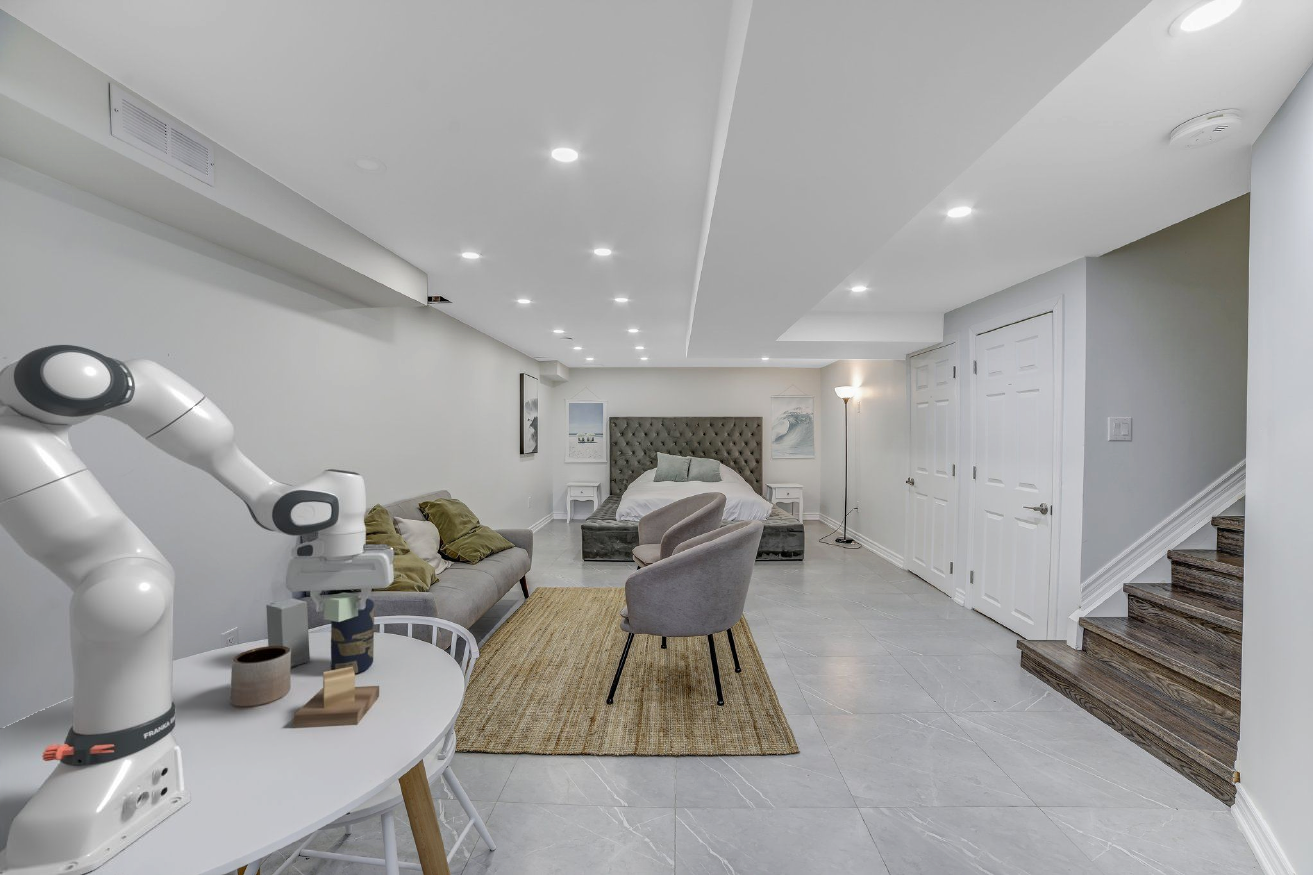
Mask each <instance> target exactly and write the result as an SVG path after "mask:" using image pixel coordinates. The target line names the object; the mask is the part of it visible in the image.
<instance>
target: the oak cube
mask: <svg viewBox="0 0 1313 875" xmlns="http://www.w3.org/2000/svg"><path fill="white" fill-rule="evenodd" d="M322 676H323V678H322V679H323V685H322V687H323V703H324V708H329V707H333V706H338V705H342V704H347V703H351V702H354V701H355V687H356V673H354V669H353V667H348V668H342V669H337V670H332V671H331V670H327V671H323V675H322Z"/></svg>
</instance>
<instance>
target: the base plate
mask: <svg viewBox="0 0 1313 875" xmlns="http://www.w3.org/2000/svg"><path fill="white" fill-rule="evenodd" d="M378 697H380V685H370V686H369V685H367V686H365V685H364V686H355V701H354V702H351V703H347V704H342V705H338V706H333V707H329V708H324V703H323V688H321V689H320V690H319V691H318V692H317V693H316V694H315V695H314V696H312V697H311V698H310V700H308V701H307V702H306V703H305V704H304V705H303V706H302V707H301V708H300V709H299V710H298V711H297V712H296V713H294V715H293V729H299V728H317V727H333V726H334V727H335V726H352V725H354V726H355V725H358V724H359V723H360V722H361V720H362V719H363V718H364V717H365V715H366V714H367V713H368V712H367V711H369V710H371V708H372V707H373V705H374V704H375V702H376V701H377V700H378V699H379V698H378Z"/></svg>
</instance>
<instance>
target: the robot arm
mask: <svg viewBox="0 0 1313 875" xmlns="http://www.w3.org/2000/svg"><path fill="white" fill-rule="evenodd" d="M95 416H101V417H102V416H103V417H107V418H111V419H113V420H116V421H118V422H121V423H122V424H124V425H127V426H128V427H129V428H130V429H132V430H133V431H135V432H136V433H137V434H138V435H139V436H141V437H142V438H144V439H145V440H146V441H147V442H148V443H150V444H152V445H153V446H154V447H156V448H157V449H159V450H161V451H162V452H164V453H166V454H168V455H169V456H171V457H173V458H175V459H177V460H179V461H182V462H183V463H186V464H188V465H190V466H192V467H195V468H196V469H199V470H202V471H204V472H205V473H207V474H209V475H211V476H212V477H213V478H214V479H215V480H217V481H218V482H220V484H222V485H223V486H224V487H225V488H226V489H228V490H230V491H231V492H232V493H233V494H235V496H237V497H239V498H240V499H241V500H242V501H243V503H244V504H245V506H246V507H247V509H248V511H249V514H250V516H251V518H252V519H253V521H254V522H255V523H256V525H258V526H259V527H261V528H262V529H264V530H266V531H271V532H276V533H279V534H283V535H287V536H292V537H295V536H296V537H297V536H299V537H300V536H303V535H307V534H312V533H315V532H317V538H313V539H310V540H308V541H306V542H303V543H300V544H298V545H295V546H293V547H292V549H291V551H290V552H291V556H292V557H293V558H292V559H290V561H289V562H288V565H287V569H286V576H285V587H286V588H287V590H288V591H289V592H310V594H309V595H310V598H311V599H312V601H313V602H314V605H315V611H316V612H324V599H322V596H321V595H320V594H321V593H323V592H322V591H343V590H345V591H346V590H361V591H360V593H361V594H362V597H361V598H362V599H361V600H358V601H356V607H355V609H356V610H363V609H364V608H365V606H366V599H368V598H369V596H370V594H371V593H372V589H387V588H389V587H390V586H391V585H392V584H393V583H394V581H395V575H394V574H395V573H394V564H393V563H394V560H395V550H394V549H393V547H391V546H389V545H388V544H386V543H384V544H383V543H382V544H381V543H380V544H366V542H367V541H366V538H367V537H366V536H367V527H366V524H365V515H366V512H367V494H366V493H367V492H366V490H367V489H366V483H365V480H364V478H363V476H362V475H361V474H359V473H358V472H355V471H350V470H349V471H348V470H343V469H342V470H340V469H333V468H331V469H324V471H323V472H321V473H320V474H319V475H316V476H315V477H313V478H311V479H309V480H306V481H305V482H302V483H300V484H297V485H295V486H294V485H291V484H288V483H283V482H281V481H277V480H275V479H273V478H272V477H270V476H269V475H267V473H266V472H264V471H263V470H262V469H261V468H259V467H258V466H257V465H256V464H255V463H253V462H252V461H251V460H250V459H249V458H247V456H245V455H244V454H243V453H242V452H241V450H240V449H239V448H238V446H237V444H236V440H235V426H234V424H233V423H232V422H231V420H230V419H229V418H228V417H227V416H226V415H225V413H224V412H223V411H222V410H221V409H220V407H218V406H217V405H216V404H215V403H214V402H213V401H211V399H210V398H208V397H207V396H206V395H205V394H203V393H202V392H201V391H200V390H198V389H197V388H196V387H195V386H193V385H192V384H190V383H189V382H188V381H186V380H185V379H183V378H182V377H180V376H179V375H178V374H176V373H174V372H173V371H171V370H169V369H168V368H166V367H164V366H163V365H161V364H159V363H157V362H155V361H154V360H151V359H145V358H134V359H127V360H125V361H121V360H119V359H117V358H113V357H110V356H109V357H108V356H106V355H104V354H102V353H101V352H97V351H96V350H93V349H90V348H87V347H83V346H77V345H72V344H71V345H70V344H53V345H48V346H44V347H41V348H37V349H34V350H32V351H30V352H28V353H26V354H25V355H24V356H23V357H22V358H19V359H16V360H14V361H12V362H10V363H8V364H7V365H6V366H5V367H4V368H2V369H1V371H0V526H1V527H2V528H3V529H4V530H5V532H7V533H8V534H9V536H10V537H11V538H12V539H13V540H14V542H15V543H16V545H18V546H19V547H20V548H21V549H22V550H23V552H24V553H25V554H26V555H27V556H29V558H32V559H33V560H36V561H37V562H38V563H39V564H41V565H42V566H44V567H45V568H46V569H47V570H49V571H50V572H51V573H53V574H54V575H55V577H57V578H58V579H59V580H60V581H62V582H63V583H64V584H65V585H66V586H67V587H69V589H70V590H71V591H72V592H73V594H72V597H71V599H70V602H69V608H68V610H69V611H68V612H69V634H70V651H71V660H72V661H71V662H72V670H73V698H72V699H73V702H72V704H73V706H72V707H73V708H72V711H73V712H72V726H71V727H70V728H69V730H68V733H67V735H66V737H65V740H64V743H63V744H50V745H48V746H47V747H46V748H45V749H44V752H42V756H41V758H42V761H44V762H51V761H53V760H56V761H59V763H58V764H57V766H56V767H55V768H54V769H53V771H52V772H51V773H50V774H49V775H48V777H47V778H46V779H45V780H44V782H43V783H42V785H40V787H39V788H38V789H37V790H36V792H35V793H34V794H33V795H32V796H31V798H30V799H29V800H28V801H27V803H26V804H25V805H24V806H23V808H22V809H21V810H20V811H19V812H18V814H17V815H15V817H14V819H13V820H12V822H11V825H10V827H9V830H8V835H7V839H6V840H7V842H6V847H4V849H2V850H1V851H0V874H1V875H84V874H86V873H89V872H91V871H94V870H96V869H97V868H99V867H101V866H102V865H104V864H105V863H106V862H108V861H109V860H111V859H112V858H113V857H115V856H116V855H118V854H119V853H121V851H123V850H124V849H126V848H127V847H128V846H130V845H131V844H133V843H134V842H135V841H137V840H138V839H140V838H141V837H142V836H144V835H145V834H147V833H148V832H149V831H151V830H152V829H153V828H155V827H156V826H158V825H159V824H160V823H162V822H163V821H165V820H166V819H167V818H168V817H170V816H171V815H173V814H174V813H176V812H177V811H178V810H180V809H181V808H183V807H184V806H185V805H187V804H188V803H189V802H190V801H191V800H192V795H191V791H190V790H189V789H188V788H186V787H185V783H184V770H183V761H182V760H183V759H182V751H181V748H180V746H179V744H178V743H177V741H176V739H175V736H174V733H173V730H174V729H175V727H176V719H177V718H176V717H177V711H176V704H175V702H173V667H174V662H173V661H174V650H173V649H174V597H175V589H176V587H175V586H176V572H175V569H174V568H173V566H172V565H171V563H170V562H169V560H167V558H166V557H165V556H164V555H163V554H162V553H161V552H160V550H159V549H158V548H157V547H156V546H155V545H154V543H152V541H151V540H150V539H149V538H148V537H147V536H146V535H145V534H144V532H143V531H141V530H140V528H139V527H138V526H137V525H136V524H135V522H133V521H132V520H131V519H130V518H129V517H128V516H127V515H126V514H125V513H124V512H123V511H122V509H121V508H120V506H119V505H118V504H117V503H116V502H115V500H114V499H113V498H112V496H111V495H110V494H109V493H108V492H107V490H106V489H105V488H104V486H103V485H102V484H101V482H100V481H99V480H98V479H97V478H96V477H95V476H94V474H93V472H91V471H90V469H89V468H88V467H87V466H86V464H85V463H84V462H83V461H82V460H81V458H80V457H79V456H78V455H77V454H76V453H75V452H74V449H73V447H72V445H71V443H70V440H69V439H70V438H69V430H70V428H71V427H72V426H75V425H78V424H81V423H83V422H86V421H87V420H90V419H91V418H93V417H95Z"/></svg>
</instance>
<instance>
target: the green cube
mask: <svg viewBox="0 0 1313 875" xmlns="http://www.w3.org/2000/svg"><path fill="white" fill-rule="evenodd" d="M358 598H359V594H355V593H349V592H340V593H338V594H333V595H329V596H326V597H324V598H323V601H324V611H323V619H324V620H325V621H326V620H327V621H330V622H331V621H336V622H340V621H343V620H346V619H349V618H353V617H356V616H358V610H356V609H355V607H356V601H358Z"/></svg>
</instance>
